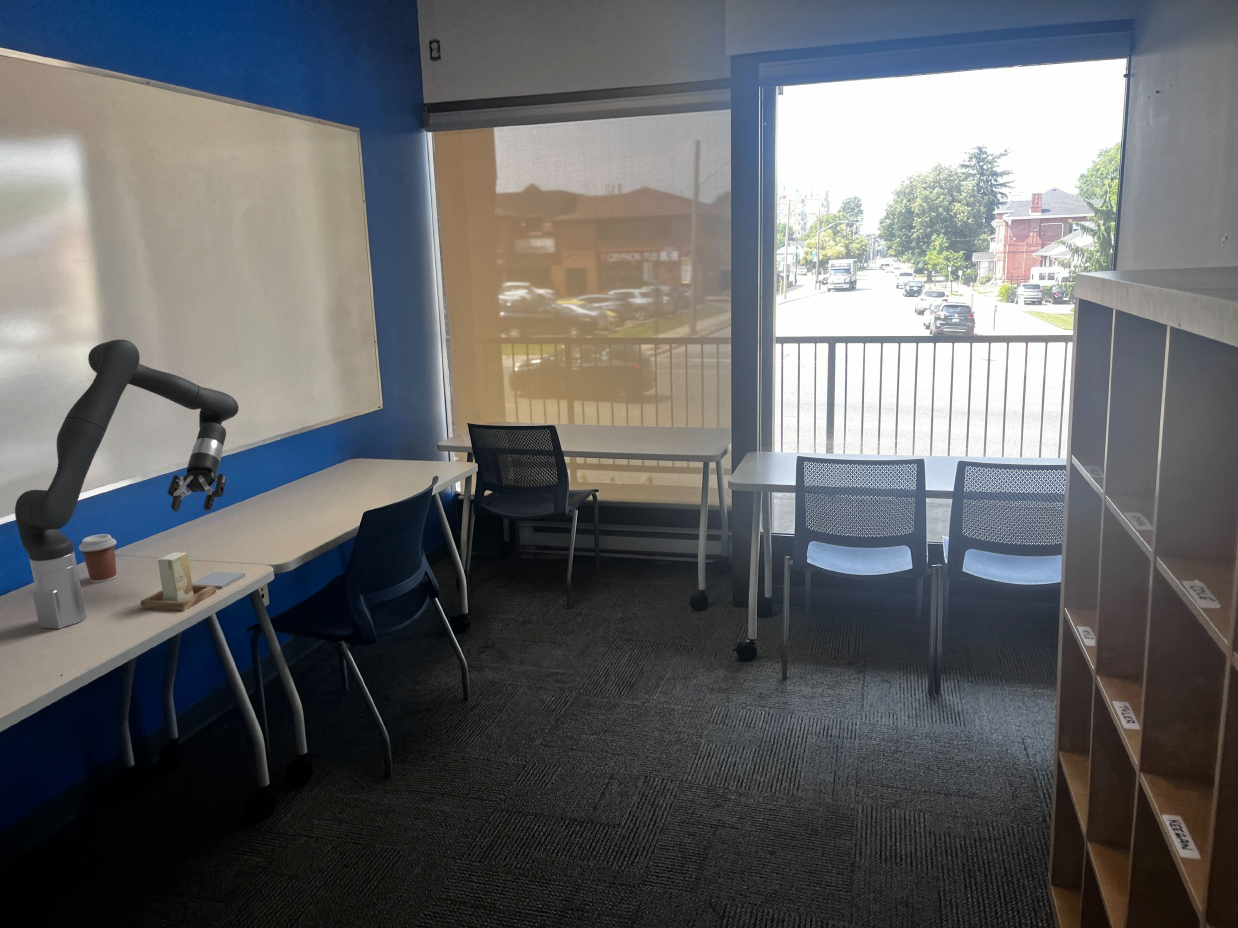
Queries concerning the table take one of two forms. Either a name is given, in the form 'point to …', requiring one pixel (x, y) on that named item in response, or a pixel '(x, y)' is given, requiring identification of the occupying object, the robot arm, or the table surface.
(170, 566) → the skincare box
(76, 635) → the table surface
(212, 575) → the grey rubber pad
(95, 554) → the coffee cup
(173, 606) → the frame
